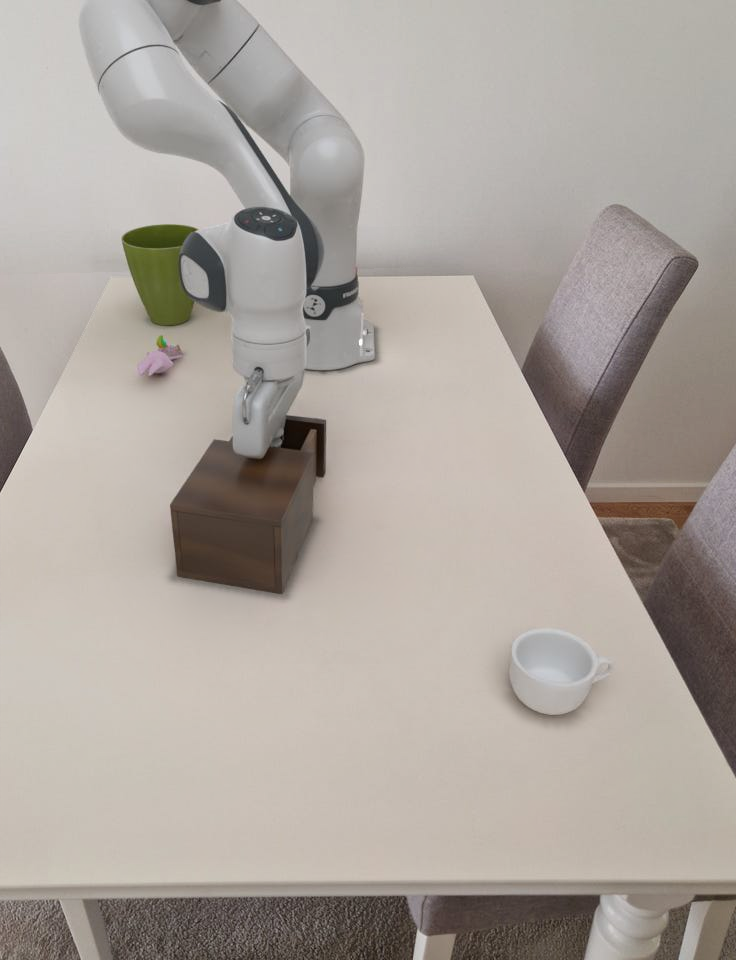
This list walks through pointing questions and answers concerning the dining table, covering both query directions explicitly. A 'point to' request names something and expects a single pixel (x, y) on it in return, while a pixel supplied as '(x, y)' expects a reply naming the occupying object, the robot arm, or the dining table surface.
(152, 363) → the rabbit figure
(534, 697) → the teacup
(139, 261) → the flower pot
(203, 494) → the cabinet
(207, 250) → the robot arm
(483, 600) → the dining table surface
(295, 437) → the drawer
